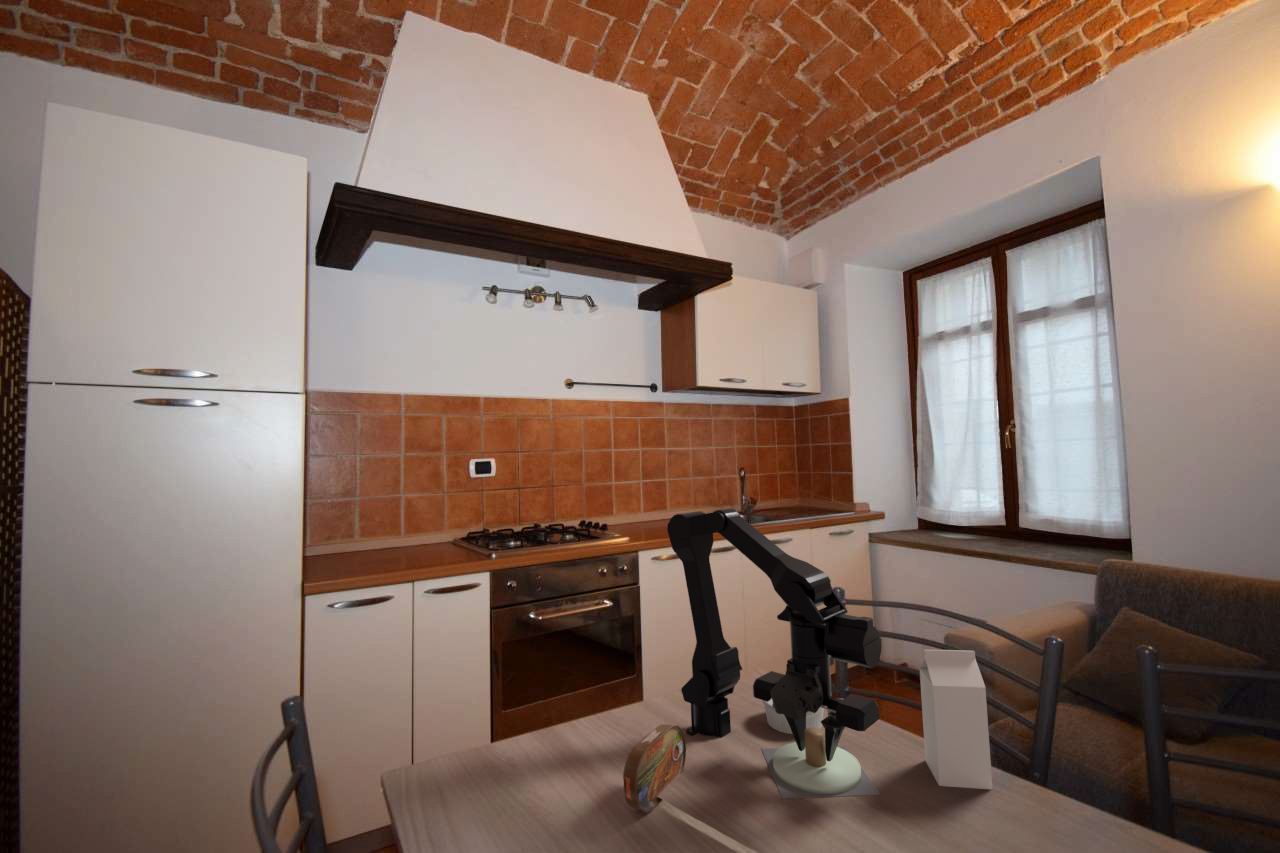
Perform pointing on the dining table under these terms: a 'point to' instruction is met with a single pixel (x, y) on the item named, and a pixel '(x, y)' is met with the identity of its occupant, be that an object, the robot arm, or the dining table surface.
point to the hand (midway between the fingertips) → (815, 755)
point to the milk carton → (955, 719)
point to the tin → (653, 766)
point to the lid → (816, 766)
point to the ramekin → (782, 724)
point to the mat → (791, 793)
